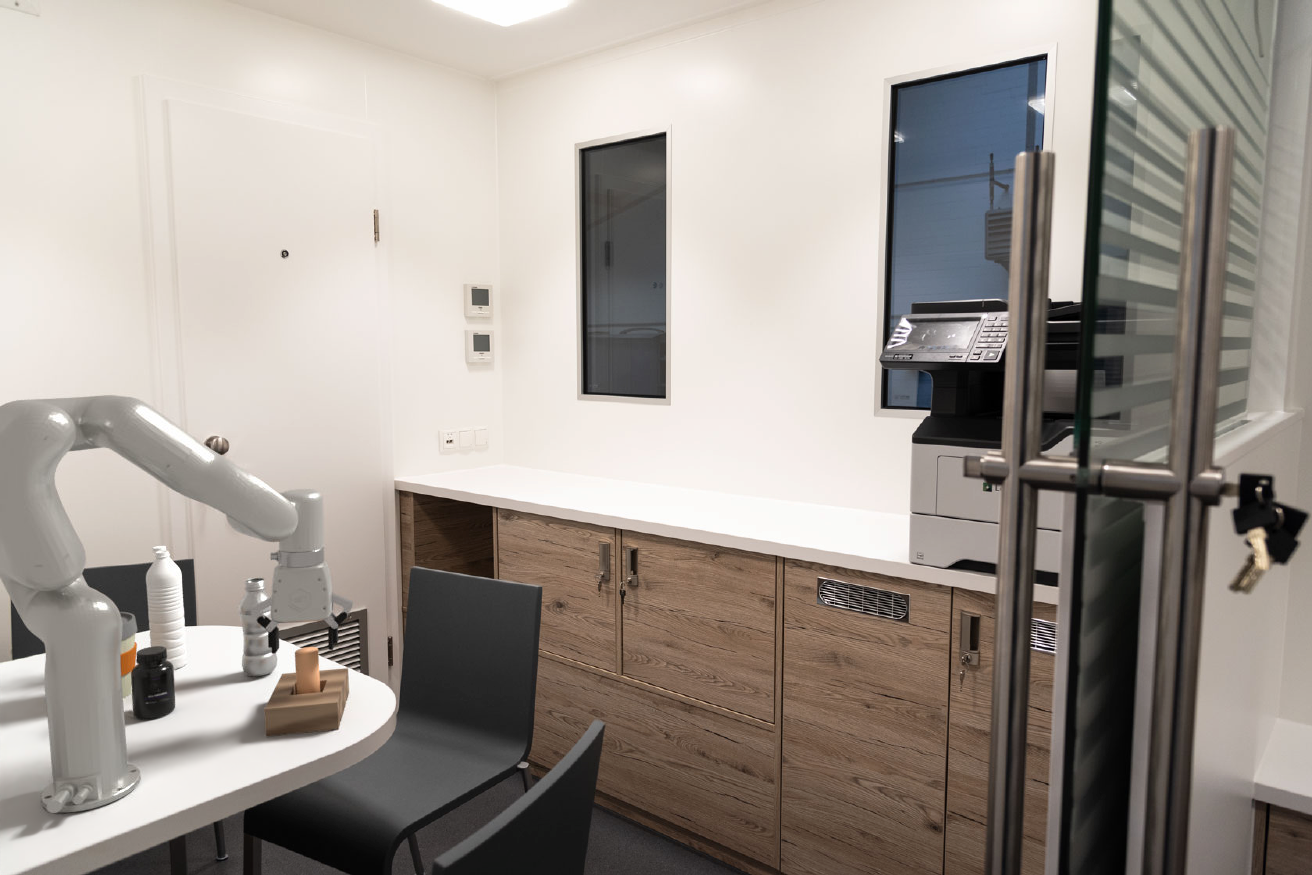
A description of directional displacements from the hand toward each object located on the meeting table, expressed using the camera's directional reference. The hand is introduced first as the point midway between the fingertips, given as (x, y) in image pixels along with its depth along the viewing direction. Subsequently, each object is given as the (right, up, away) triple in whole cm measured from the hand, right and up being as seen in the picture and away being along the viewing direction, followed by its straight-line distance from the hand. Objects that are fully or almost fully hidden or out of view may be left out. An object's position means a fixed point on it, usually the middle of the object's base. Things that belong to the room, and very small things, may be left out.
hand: (303, 649), depth 153 cm
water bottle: (-39, -10, +25) cm, 48 cm away
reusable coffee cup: (-43, -12, +9) cm, 45 cm away
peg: (0, -12, +2) cm, 13 cm away
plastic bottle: (-18, -10, +20) cm, 29 cm away
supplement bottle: (-29, -13, +2) cm, 31 cm away
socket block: (0, -12, +2) cm, 13 cm away
